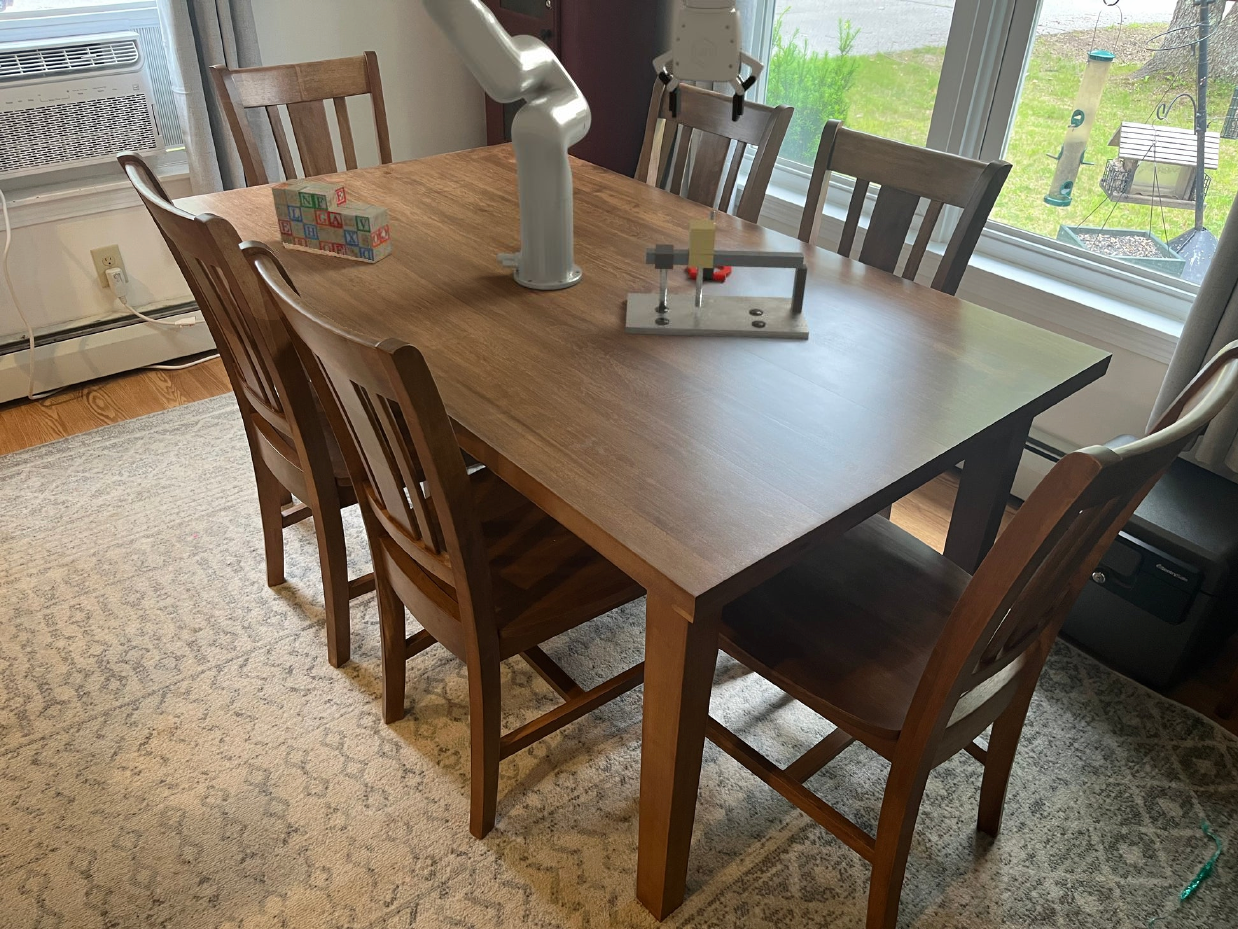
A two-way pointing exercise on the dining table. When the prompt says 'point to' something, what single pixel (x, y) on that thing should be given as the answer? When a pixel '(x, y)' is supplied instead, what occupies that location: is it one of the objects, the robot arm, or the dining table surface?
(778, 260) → the beam
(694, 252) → the carriage
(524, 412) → the dining table surface
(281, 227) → the stack of blocks
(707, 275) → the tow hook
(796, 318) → the hole plate
